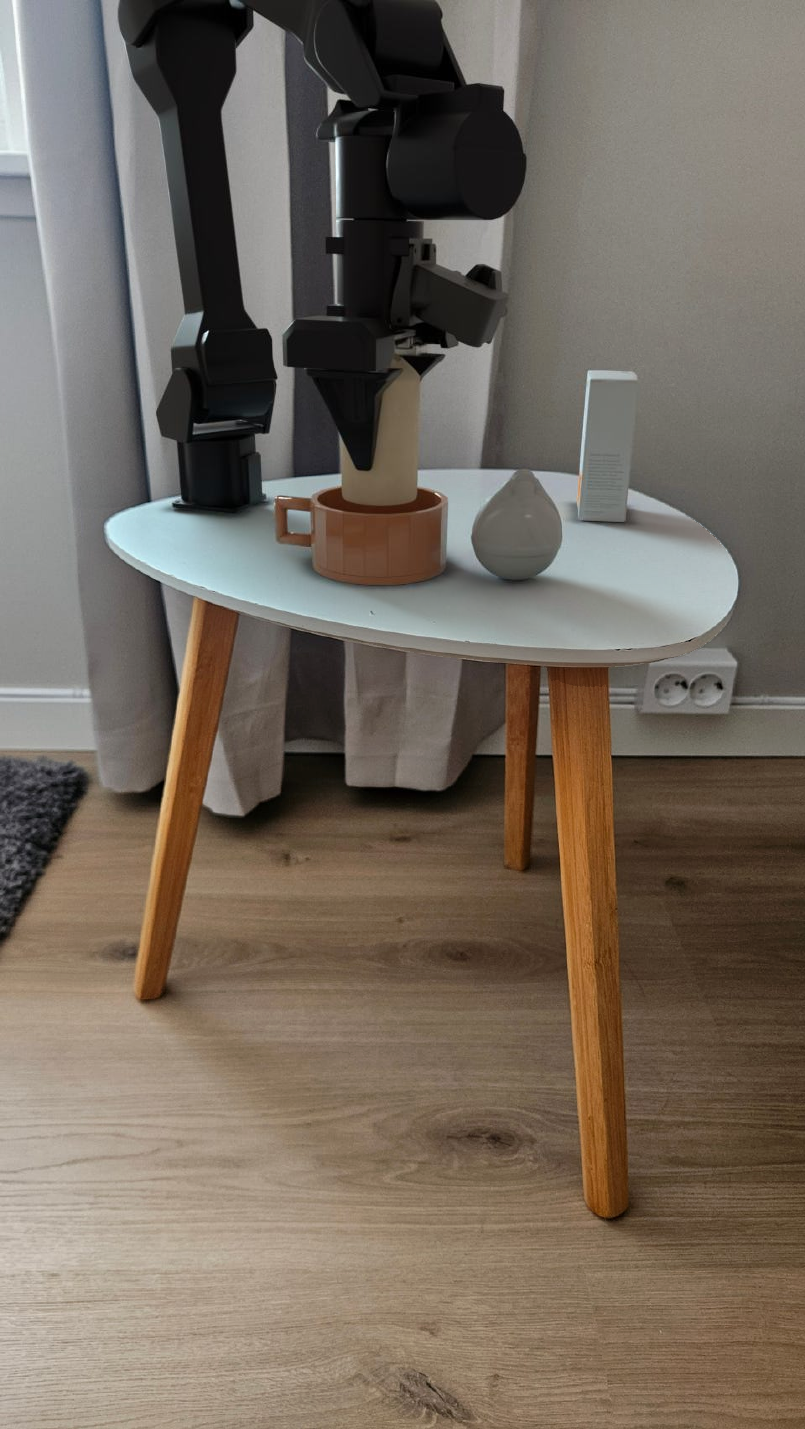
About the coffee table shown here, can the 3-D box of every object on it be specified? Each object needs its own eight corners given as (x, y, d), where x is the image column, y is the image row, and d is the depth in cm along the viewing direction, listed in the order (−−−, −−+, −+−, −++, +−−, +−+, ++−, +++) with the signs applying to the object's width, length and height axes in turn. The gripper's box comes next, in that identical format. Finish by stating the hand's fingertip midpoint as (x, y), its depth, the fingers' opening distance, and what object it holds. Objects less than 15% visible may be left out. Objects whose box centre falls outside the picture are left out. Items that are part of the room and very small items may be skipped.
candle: (409, 509, 70) (412, 358, 65) (333, 503, 71) (331, 355, 66) (423, 491, 75) (427, 350, 70) (352, 487, 76) (351, 347, 71)
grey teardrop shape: (542, 561, 76) (550, 455, 73) (570, 589, 70) (580, 475, 66) (458, 564, 75) (463, 456, 72) (479, 593, 69) (485, 477, 66)
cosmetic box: (575, 504, 93) (587, 369, 88) (621, 506, 92) (636, 371, 87) (576, 521, 87) (589, 378, 82) (625, 523, 87) (641, 379, 82)
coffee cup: (461, 554, 78) (464, 490, 75) (421, 592, 69) (423, 521, 67) (303, 536, 82) (301, 475, 79) (246, 570, 73) (243, 502, 71)
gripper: (458, 219, 55) (447, 502, 61) (532, 224, 70) (518, 448, 77) (274, 217, 58) (283, 486, 65) (385, 222, 74) (383, 437, 80)
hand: (378, 462), depth 72 cm, fingers closed on candle, 5 cm apart
